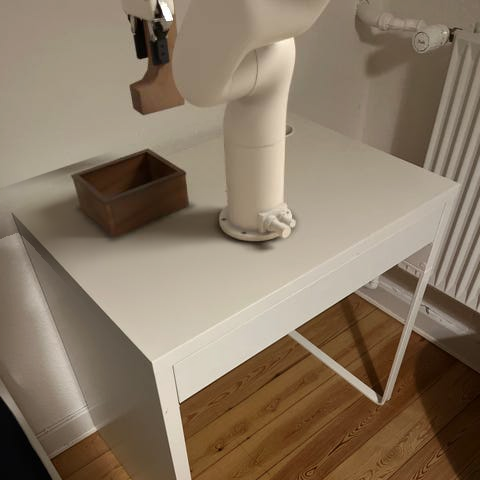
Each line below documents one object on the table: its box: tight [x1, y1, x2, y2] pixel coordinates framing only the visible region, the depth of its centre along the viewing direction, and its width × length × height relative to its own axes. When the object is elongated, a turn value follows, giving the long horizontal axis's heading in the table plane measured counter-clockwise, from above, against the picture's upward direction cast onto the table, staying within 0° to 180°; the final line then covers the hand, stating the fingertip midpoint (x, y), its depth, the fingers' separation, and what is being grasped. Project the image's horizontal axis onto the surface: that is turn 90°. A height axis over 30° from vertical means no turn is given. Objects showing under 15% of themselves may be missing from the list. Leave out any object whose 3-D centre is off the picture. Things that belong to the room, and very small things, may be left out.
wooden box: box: [70, 148, 190, 238], centre depth 91 cm, size 13×16×7 cm
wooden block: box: [129, 0, 186, 116], centre depth 90 cm, size 9×4×18 cm, turn 124°
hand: (153, 59), depth 90 cm, fingers closed on wooden block, 4 cm apart
